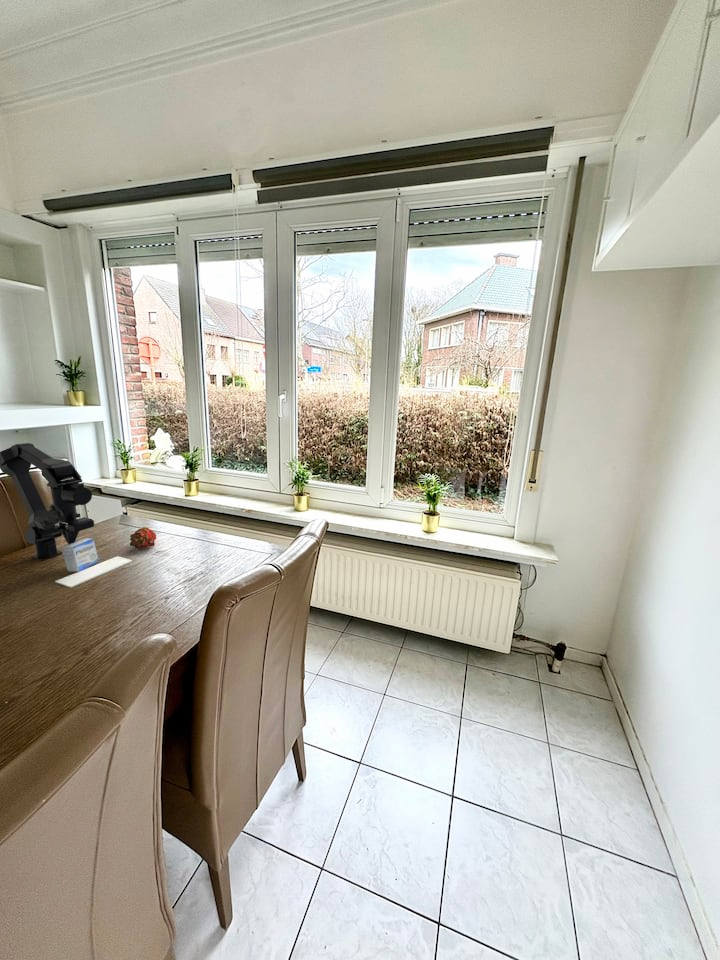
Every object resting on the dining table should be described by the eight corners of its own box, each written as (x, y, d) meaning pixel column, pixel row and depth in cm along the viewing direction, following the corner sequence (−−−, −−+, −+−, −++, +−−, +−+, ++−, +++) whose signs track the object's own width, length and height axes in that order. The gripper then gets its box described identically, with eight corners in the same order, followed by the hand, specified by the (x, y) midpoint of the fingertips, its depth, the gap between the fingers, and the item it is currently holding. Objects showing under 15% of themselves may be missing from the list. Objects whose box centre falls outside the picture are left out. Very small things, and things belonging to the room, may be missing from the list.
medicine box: (78, 572, 123) (72, 547, 121) (67, 572, 124) (60, 547, 122) (99, 561, 130) (93, 538, 128) (88, 561, 131) (82, 538, 129)
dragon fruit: (140, 558, 138) (144, 550, 149) (160, 542, 140) (162, 535, 151) (122, 542, 135) (127, 535, 146) (143, 526, 137) (146, 520, 148)
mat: (55, 582, 117) (55, 581, 117) (117, 557, 135) (117, 556, 135) (70, 587, 114) (70, 586, 114) (132, 561, 132) (132, 560, 132)
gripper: (17, 502, 120) (26, 548, 124) (54, 511, 113) (62, 559, 117) (56, 494, 130) (63, 536, 134) (92, 502, 123) (98, 546, 127)
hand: (71, 544), depth 127 cm, fingers closed
